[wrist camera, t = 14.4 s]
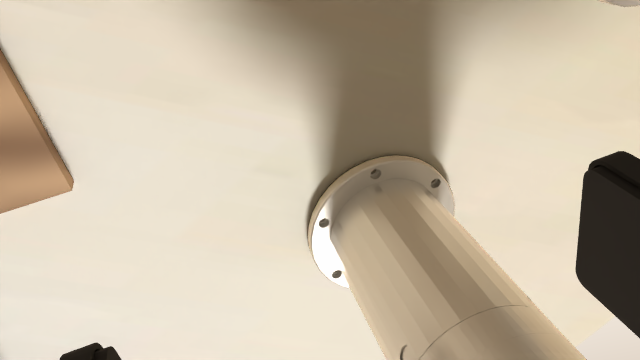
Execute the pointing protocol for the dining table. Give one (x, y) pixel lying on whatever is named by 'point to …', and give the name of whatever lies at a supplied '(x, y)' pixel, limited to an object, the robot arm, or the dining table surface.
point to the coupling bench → (25, 150)
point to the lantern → (623, 2)
